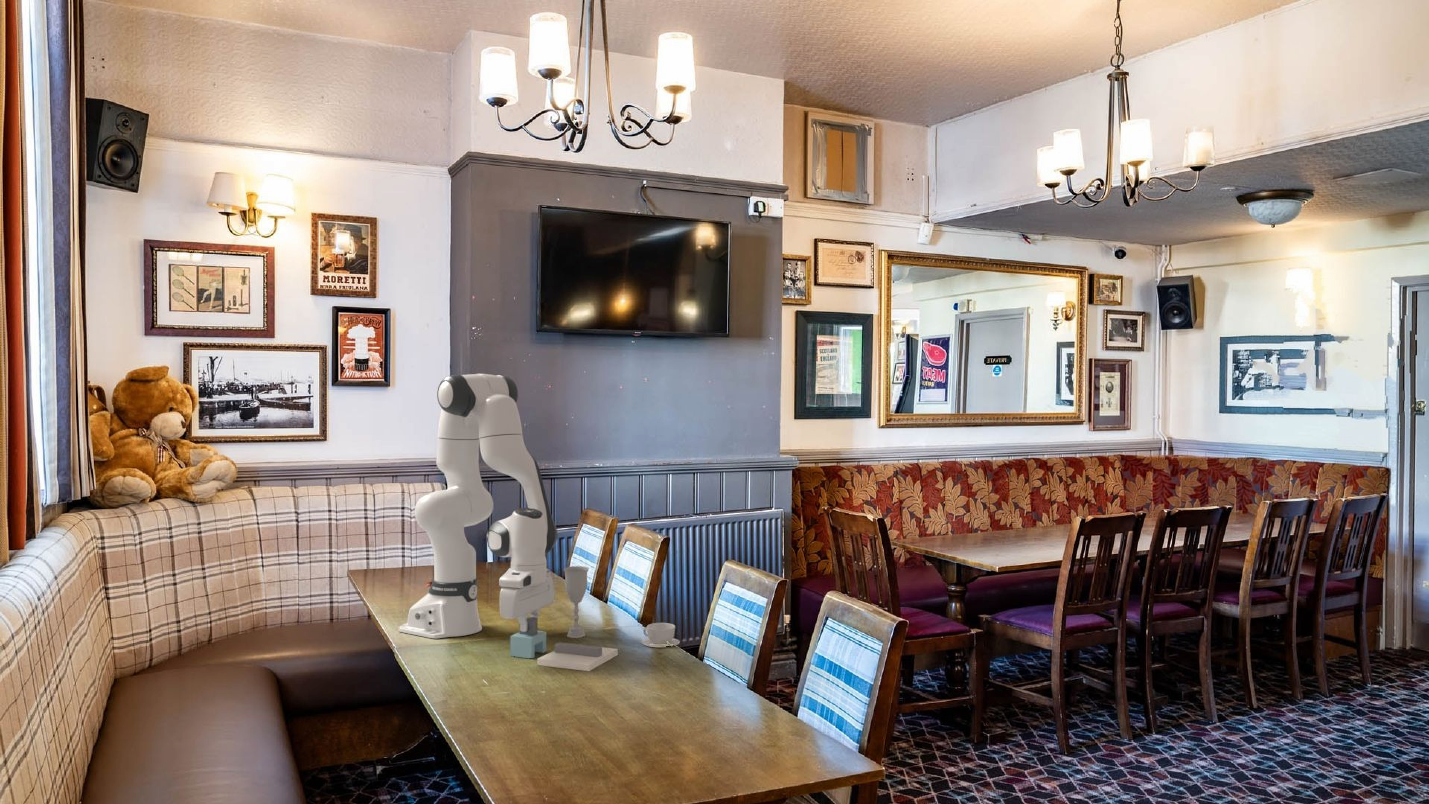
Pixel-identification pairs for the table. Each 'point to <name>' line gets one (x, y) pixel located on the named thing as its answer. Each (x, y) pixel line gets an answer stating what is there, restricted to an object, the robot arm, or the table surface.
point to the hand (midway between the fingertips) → (528, 629)
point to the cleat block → (528, 641)
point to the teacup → (660, 634)
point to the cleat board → (577, 656)
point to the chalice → (576, 594)
